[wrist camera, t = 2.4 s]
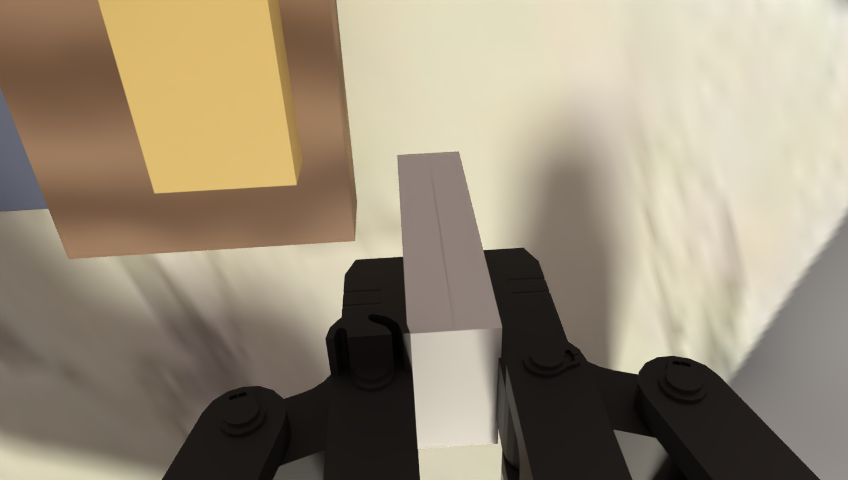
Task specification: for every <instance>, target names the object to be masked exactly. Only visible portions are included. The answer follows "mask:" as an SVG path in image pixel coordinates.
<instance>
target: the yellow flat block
mask: <svg viewBox="0 0 848 480" xmlns="http://www.w3.org/2000/svg"><path fill="white" fill-rule="evenodd" d="M98 2H99V5H100V9H101V12H102V16H103V19H104V22H105V26H106V29H107V33H108V36H109V40H110V43H111V46H112V50H113V53H114V57H115V60H116V63H117V67H118V70H119V74H120V77H121V81H122V84H123V87H124V91H125V94H126V98H127V101H128V104H129V108H130V111H131V115H132V118H133V122H134V125H135V128H136V132H137V135H138V139H139V142H140V145H141V149H142V152H143V156H144V159H145V163H146V166H147V169H148V173H149V176H150V180H151V183H152V187H153V190H154V193H171V192H188V191H205V190H221V189H238V188H255V187H272V186H289V185H297V181H298V177H299V173H300V168H301V164H302V157H301V150H300V143H299V136H298V130H297V123H296V116H295V110H294V103H293V96H292V90H291V83H290V76H289V69H288V63H287V56H286V49H285V43H284V36H283V29H282V23H281V16H280V9H279V2H278V0H98Z"/></svg>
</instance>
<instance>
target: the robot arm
mask: <svg viewBox="0 0 848 480" xmlns="http://www.w3.org/2000/svg"><path fill="white" fill-rule="evenodd" d="M397 157H398V175H399V192H400V210H401V227H402V245H403V257H393V258H377V259H361V260H355V262H354V263H353V264H352V266H351V267H350V269H349V270H348V271H347V273H346V274H345V280H344V295H343V308H342V318H340V319H339V320H338V321H337V322H336V323H334V324H333V325H332V326H331V327H330V329H329V331H328V334H327V336H326V345H327V352H328V358H329V365H330V371H331V375H330V376H329V377H328V378H327V379H326V380H325V381H324V382H322V383H321V384H319V385H318V386H316V387H315V388H313V389H311V390H308V391H306V392H304V393H301V394H298V395H295V396H292V397H289V398H285V399H283V398H282V397H281V396H279V395H278V394H277V393H276V392H275V391H273V390H271V389H267V388H264V387H260V386H252V387H241V388H238V389H235V390H232V391H229V392H226V393H225V394H223V395H222V396H220V397H218V398H217V399H215V400H214V401H212V403H211V404H210V405H209V406H208V407H207V408H206V409H205V411H204V412H203V413H202V414H201V416H200V418H199V419H198V421H197V423H196V424H195V426H194V428H193V429H192V431H191V433H190V434H189V436H188V438H187V439H186V441H185V443H184V444H183V446H182V447H181V449H180V451H179V452H178V454H177V456H176V457H175V459H174V461H173V462H172V464H171V466H170V467H169V469H168V471H167V472H166V474H165V475H164V477H163V479H162V480H420V474H419V459H418V449H427V448H441V447H455V446H469V445H484V444H498V429H499V434H500V439H501V445H502V469H501V480H820V479H819V478H818V477H817V476H816V475H815V474H814V473H813V472H812V471H811V470H810V469H809V468H808V467H807V466H806V465H805V464H804V463H803V462H802V461H801V460H800V459H799V458H798V456H796V454H795V453H794V452H792V450H791V449H790V448H789V447H788V446H787V445H786V444H785V443H784V442H783V441H782V440H781V439H780V438H779V437H778V436H777V435H776V434H775V433H774V432H773V431H772V430H771V429H770V428H769V427H768V426H767V425H766V424H765V423H764V422H763V421H762V419H760V417H759V416H757V414H756V413H755V412H753V410H752V409H751V408H750V407H749V406H748V405H747V404H746V403H745V402H744V401H743V400H742V399H741V398H740V397H739V396H738V395H737V394H736V393H735V392H734V391H733V390H732V389H731V388H730V387H729V386H728V385H727V384H726V383H725V381H724V380H723V379H722V378H721V377H720V376H719V375H717V374H716V373H715V372H713V371H712V370H711V369H710V368H708V367H707V366H706V365H703V364H701V363H699V362H696V361H694V360H691V359H688V358H682V357H676V356H667V357H657V358H655V359H653V360H651V361H649V362H647V363H645V365H644V366H643V367H642V369H641V370H640V371H639V375H637V374H632V373H626V372H620V371H614V370H610V369H606V368H602V367H599V366H597V365H594V364H592V363H590V362H588V361H587V360H586V358H585V357H584V356H583V354H582V353H581V351H580V350H579V349H578V348H577V347H575V346H574V345H572V344H571V343H569V342H568V340H567V338H566V335H565V332H564V330H563V327H562V324H561V321H560V319H559V316H558V313H557V311H556V308H555V305H554V302H553V300H552V297H551V294H550V293H549V289H548V286H547V283H546V281H545V280H544V275H543V272H542V270H541V267H540V264H539V262H538V260H536V259H535V258H534V257H533V256H532V255H531V254H530V253H529V252H528V251H526V250H525V249H524V248H513V249H496V250H483V247H482V243H481V239H480V235H479V231H478V227H477V223H476V219H475V215H474V211H473V207H472V203H471V199H470V195H469V191H468V187H467V182H466V178H465V174H464V170H463V166H462V162H461V158H460V154H459V152H443V153H425V154H408V155H397Z"/></svg>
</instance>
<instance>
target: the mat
mask: <svg viewBox="0 0 848 480" xmlns="http://www.w3.org/2000/svg"><path fill="white" fill-rule="evenodd" d="M32 209H48V206H47V204H46V201H45V199H44V196H43V194H42V191H41V189H40V186H39V184H38V181H37V179H36V176H35V174H34V171H33V168H32V166H31V163H30V161H29V158H28V156H27V153H26V151H25V148H24V146H23V143H22V141H21V138H20V136H19V133H18V131H17V128H16V126H15V123H14V121H13V118H12V116H11V113H10V111H9V108H8V106H7V103H6V101H5V98H4V96H3V93H2V91H1V88H0V211H16V210H32Z"/></svg>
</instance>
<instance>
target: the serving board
mask: <svg viewBox="0 0 848 480" xmlns="http://www.w3.org/2000/svg"><path fill="white" fill-rule="evenodd" d="M278 2H279V9H280V16H281V23H282V29H283V36H284V43H285V49H286V56H287V63H288V69H289V76H290V83H291V90H292V96H293V103H294V110H295V116H296V123H297V130H298V136H299V143H300V150H301V157H302V164H301V168H300V173H299V177H298V181H297V185H289V186H272V187H255V188H238V189H221V190H205V191H188V192H171V193H154V190H153V187H152V183H151V180H150V176H149V173H148V169H147V166H146V163H145V159H144V156H143V152H142V149H141V145H140V142H139V139H138V135H137V132H136V128H135V125H134V122H133V118H132V115H131V111H130V108H129V104H128V101H127V98H126V94H125V91H124V87H123V84H122V81H121V77H120V74H119V70H118V67H117V63H116V60H115V57H114V53H113V50H112V46H111V43H110V40H109V36H108V33H107V29H106V26H105V22H104V19H103V16H102V12H101V9H100V5H99V2H98V0H0V88H1V91H2V93H3V96H4V98H5V101H6V103H7V106H8V108H9V111H10V113H11V116H12V118H13V121H14V123H15V126H16V128H17V131H18V133H19V136H20V138H21V141H22V143H23V146H24V148H25V151H26V153H27V156H28V158H29V161H30V163H31V166H32V168H33V171H34V174H35V176H36V179H37V181H38V184H39V186H40V189H41V191H42V194H43V196H44V199H45V201H46V204H47V206H48V209H49V211H50V214H51V216H52V219H53V221H54V224H55V226H56V229H57V231H58V234H59V236H60V239H61V241H62V244H63V246H64V249H65V251H66V254H67V256H68V259H74V258H90V257H106V256H122V255H138V254H154V253H170V252H186V251H202V250H218V249H234V248H250V247H266V246H282V245H298V244H314V243H330V242H346V241H355V229H356V210H357V198H356V188H355V179H354V169H353V159H352V150H351V140H350V130H349V121H348V111H347V101H346V91H345V82H344V72H343V62H342V53H341V43H340V33H339V24H338V14H337V4H336V0H278Z"/></svg>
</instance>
